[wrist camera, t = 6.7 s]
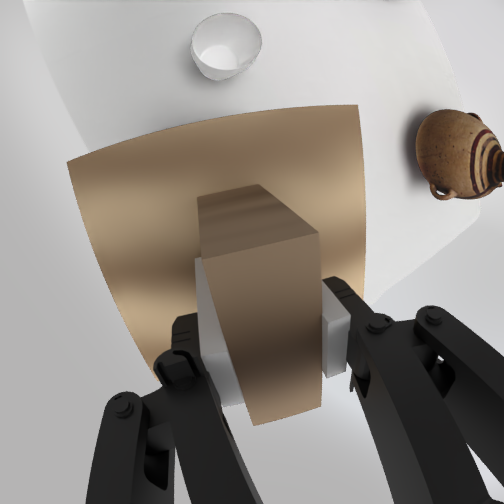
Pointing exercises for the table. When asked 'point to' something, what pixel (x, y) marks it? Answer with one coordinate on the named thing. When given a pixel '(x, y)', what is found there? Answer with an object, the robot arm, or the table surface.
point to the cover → (234, 237)
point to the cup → (225, 45)
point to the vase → (459, 155)
